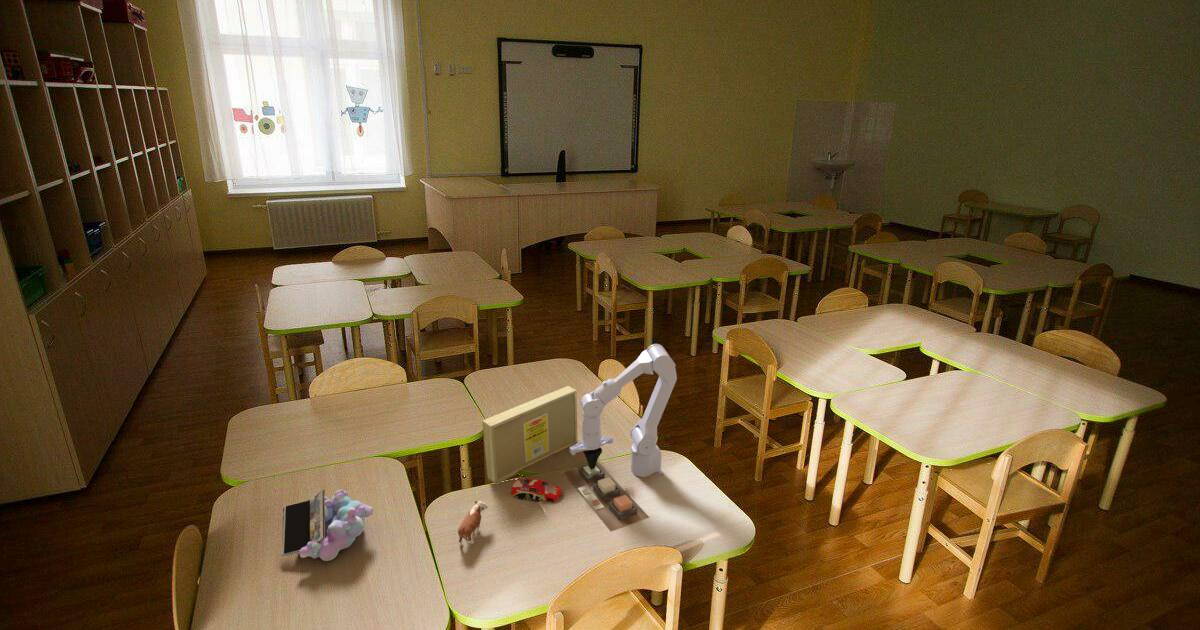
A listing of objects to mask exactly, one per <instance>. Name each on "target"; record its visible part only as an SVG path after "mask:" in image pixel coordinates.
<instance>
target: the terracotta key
mask: <svg viewBox="0 0 1200 630" xmlns="http://www.w3.org/2000/svg"><path fill="white" fill-rule="evenodd" d="M614 506H615V508H616V509H617V510H618V511H619V512H620V513H621V512H624V511H627V510H630V509H632V501H631V500H630V499H629V498H628V497H627V496H626V495H623V496H621V497H618V498H615V499H614Z"/></svg>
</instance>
